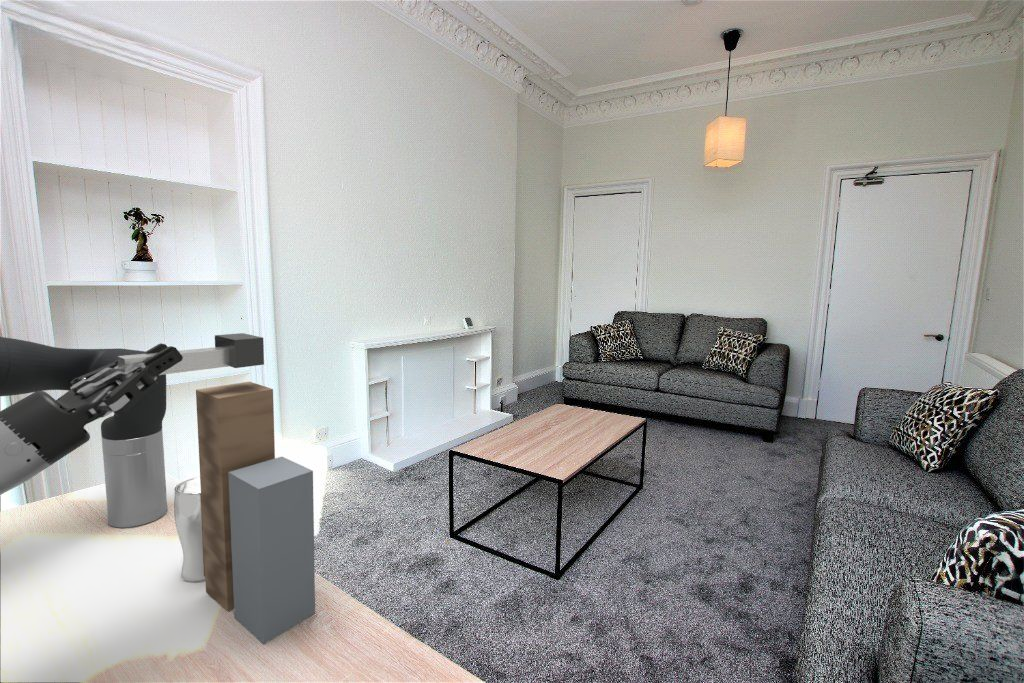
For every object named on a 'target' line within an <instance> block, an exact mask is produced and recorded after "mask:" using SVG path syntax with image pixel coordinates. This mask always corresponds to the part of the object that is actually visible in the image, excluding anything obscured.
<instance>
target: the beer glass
mask: <svg viewBox="0 0 1024 683" xmlns="http://www.w3.org/2000/svg"><path fill="white" fill-rule="evenodd" d="M173 489H174V498H173V508H174V509H173V513H174V514H173V516H174V523H175V528H176V532H177V535H178V539H179V542H180V546H181V550H182V559H183V560H182V567H181V573H180V577H181V578H182V580H184V581H185V582H190V583H198V582H202V581H204V582H205V563H204V543H203V524H202V504H201V484H200V476H196V477H192V478H188V479H186V480H183V481H181V482H180V483H178V484H176V486H175V487H174V488H173Z"/></svg>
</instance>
